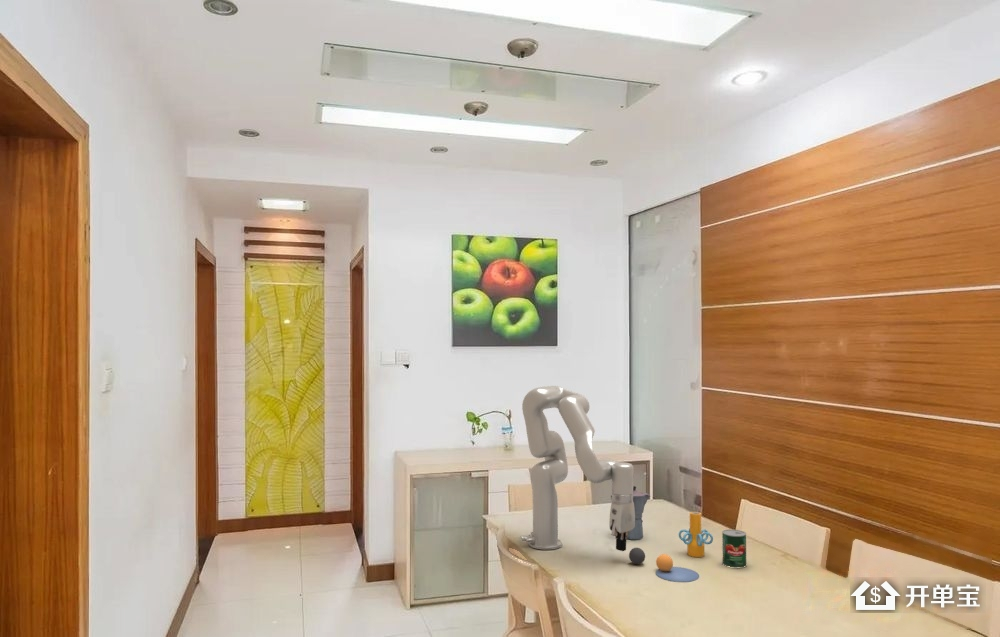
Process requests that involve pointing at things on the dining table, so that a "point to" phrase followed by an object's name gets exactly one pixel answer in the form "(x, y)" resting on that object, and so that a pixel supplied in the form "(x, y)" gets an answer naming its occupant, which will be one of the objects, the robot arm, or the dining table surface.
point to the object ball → (664, 562)
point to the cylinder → (695, 536)
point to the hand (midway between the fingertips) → (620, 549)
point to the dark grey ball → (637, 555)
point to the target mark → (678, 574)
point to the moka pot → (638, 514)
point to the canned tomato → (734, 548)
